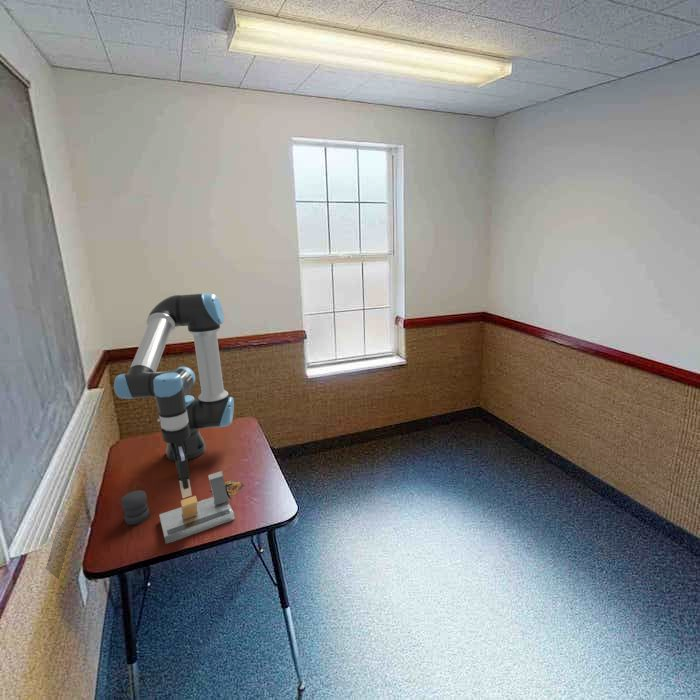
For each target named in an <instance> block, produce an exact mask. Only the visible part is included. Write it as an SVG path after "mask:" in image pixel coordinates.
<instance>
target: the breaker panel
mask: <svg viewBox="0 0 700 700" xmlns="http://www.w3.org/2000/svg"><path fill="white" fill-rule="evenodd" d="M197 512H198V514H197V515H194V516H191V517H188V518H186V519H182V506H180V507H178V508H174V509H171V510H168V511H166V512H162V513H160V514H158V515H159V522H160V524H161V529H162V534H163V538H164V541H165V545H167V544H171V543H173V542H177V541H179V540H182V539H184V538H187V537H189V536H193V535H195V534H199V533H200V532H204V531H207V530H209V529H211V528H215V527H217V526H220V525H223V524H226V523H228V522H231V521H234V520H235V511H234V510H233V509H232V506H231V504H230V502H229V501H227V502H224V503H221V504H219V505H216V506H215V504H214V498H213V496H211V497H208V498H205V499H202V500H200V501H197Z"/></svg>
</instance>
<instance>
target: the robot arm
mask: <svg viewBox="0 0 700 700" xmlns="http://www.w3.org/2000/svg"><path fill="white" fill-rule="evenodd" d="M224 319H225V318H224V309H223V307H222V304H221V301H220V299H219V298H218V296H217V295H216V294H213V293H194V294H193V293H192V294H181V295H179V294H177V295H175V294H173V295H171V296H168V297H166V298H164V299H163V300H161V301H160V302H159V303H157V304H156V305H155V307H154V308H152V310H151V311H150V313H149V315H148V317H147V319H146V325H147V327H146V328H145V331H144V334H143V336H142V339H141V341H140V343H139V346H138V348H137V351H136V353H135V355H134V357H133V360H132V363H131V365H130V367H129V369H128V372H127V373H122V374H121V373H120V374H118V375H116V377H115V379H114V382H113V388H114V389H113V390H114V393H115V395H116V396H117V397H118V398H119V399H125V400H126V399H128V400H129V399H132V400H133V399H140V398H141V399H143V398H154V397H155V401H156V407H157V412H158V417H159V418H157V419H156V421H157V422H158V423H159V422H160V428H161V436H162V440H163V442H165V443H166V444H167V445H166V449H165V452H166V453H165V454H166V457H167V459H168V460H170V461H173V462H175V468H176V472H177V476H178V478H176V479H177V482H179V487H180V488H179V489H180V492H181V493H180V494H181V497H182V499H186V498H189V497H192V496H193V494H192V488H191V482H190V481H191V480H190V479H191V476H190V473H191V472H190V470H189V462H188V460H189V461H190V460H191V459H192V460H193V459H195V458H197V457H199V456H201V455H202V454H203V453H204V452H205V451H206V449H207V447H206V441H205V440H204V438H203V436H202V435H201V433H200V429H212V428H221V427H223V428H224V427H229V426H230V425H231V424H232V422H233V417H234V411H235V400H234V397H233V396H230V395H229V392H228V391H227V390H225V387H224V380H223V372H222V364H221V357H220V349H219V342H218V332H219V330H220V329H221V325H223V323H224V321H225V320H224ZM177 327H187V329H188V330H187V331H188V332H189V333H190V334H192V336H193V342H194V347H195V356H196V362H197V371H198V378H199V384H200V390H201V391H200V394H199V395H198V397H197V399H195V397H194V396H193V395H190V394H189V392H190V391H191V390H192V389H193V388H194V384H195V382H196V374H195V372H194V371H193V370H192V368H189V367H187V366H179V367H176V368H174V369H173V370H169V371H157V370H158V367H159V364H160V363H161V362H160V361H161V358H162V356H163V353H164V351H165V348H166V345H167V342H168V339H169V337H170V334H171V333H173V331H174V330H175V329H176V328H177ZM188 394H189V395H188Z"/></svg>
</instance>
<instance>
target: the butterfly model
mask: <svg viewBox="0 0 700 700" xmlns="http://www.w3.org/2000/svg"><path fill="white" fill-rule="evenodd" d="M224 484H225V488H226V492H227V495H228V497H229V498H230V499H232V498H233V497H234V496H235V495H236V494H237V493H238V492H239V491H240V490H241V489H243V488H244V487H245V484H244V483H243V482H241V481H235V480H234V479H230V480H227V481H224ZM208 491H209V492H210V491H211V492H212V489H211V488H210V489H208Z"/></svg>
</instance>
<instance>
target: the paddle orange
mask: <svg viewBox="0 0 700 700" xmlns="http://www.w3.org/2000/svg"><path fill="white" fill-rule="evenodd" d="M197 502H198V499H197V496H196V495H192V496H189V497H186V498H182V499H181V500H180V505H181V507H182V519H186V518H188V517H191V516H194V515H197V514H198V512H197Z"/></svg>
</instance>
